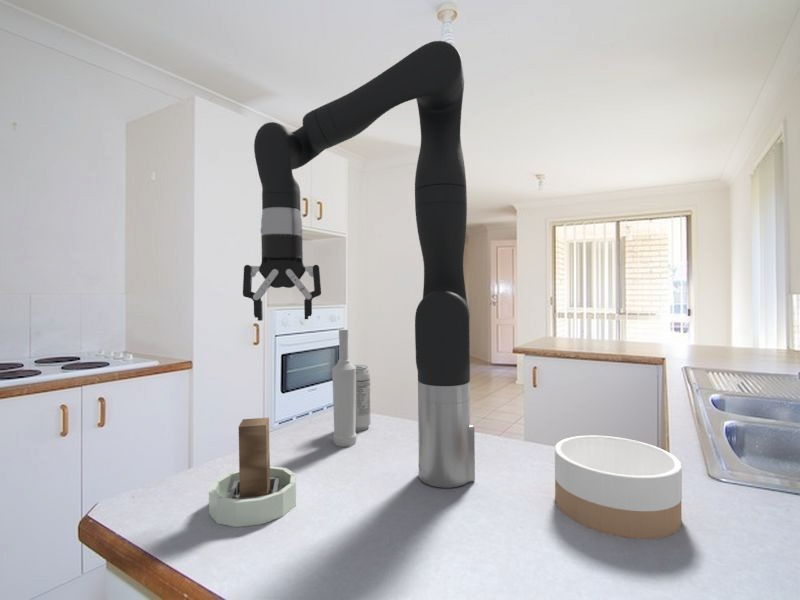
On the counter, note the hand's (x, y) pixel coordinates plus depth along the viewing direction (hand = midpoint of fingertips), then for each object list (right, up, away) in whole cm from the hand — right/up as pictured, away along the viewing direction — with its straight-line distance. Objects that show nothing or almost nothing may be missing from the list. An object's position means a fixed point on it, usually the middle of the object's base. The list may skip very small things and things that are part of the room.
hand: (283, 319), depth 83 cm
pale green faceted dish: (-1, -28, -15) cm, 32 cm away
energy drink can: (+12, -28, +24) cm, 38 cm away
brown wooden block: (0, -27, -15) cm, 31 cm away
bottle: (+10, -28, +13) cm, 32 cm away
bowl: (+55, -28, -17) cm, 64 cm away
